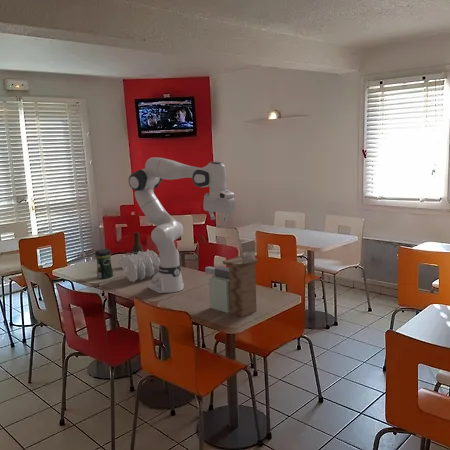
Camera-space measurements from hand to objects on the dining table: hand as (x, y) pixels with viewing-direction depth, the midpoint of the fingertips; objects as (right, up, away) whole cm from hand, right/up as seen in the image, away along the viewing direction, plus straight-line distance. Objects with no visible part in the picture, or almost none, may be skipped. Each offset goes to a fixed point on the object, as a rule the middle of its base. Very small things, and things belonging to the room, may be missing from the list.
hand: (219, 220), depth 238 cm
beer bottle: (-58, -31, +86) cm, 108 cm away
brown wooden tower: (+11, -45, -10) cm, 47 cm away
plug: (-1, -28, -2) cm, 28 cm away
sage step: (+4, -44, -3) cm, 44 cm away
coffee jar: (-75, -36, +62) cm, 104 cm away
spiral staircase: (-49, -37, +55) cm, 82 cm away
